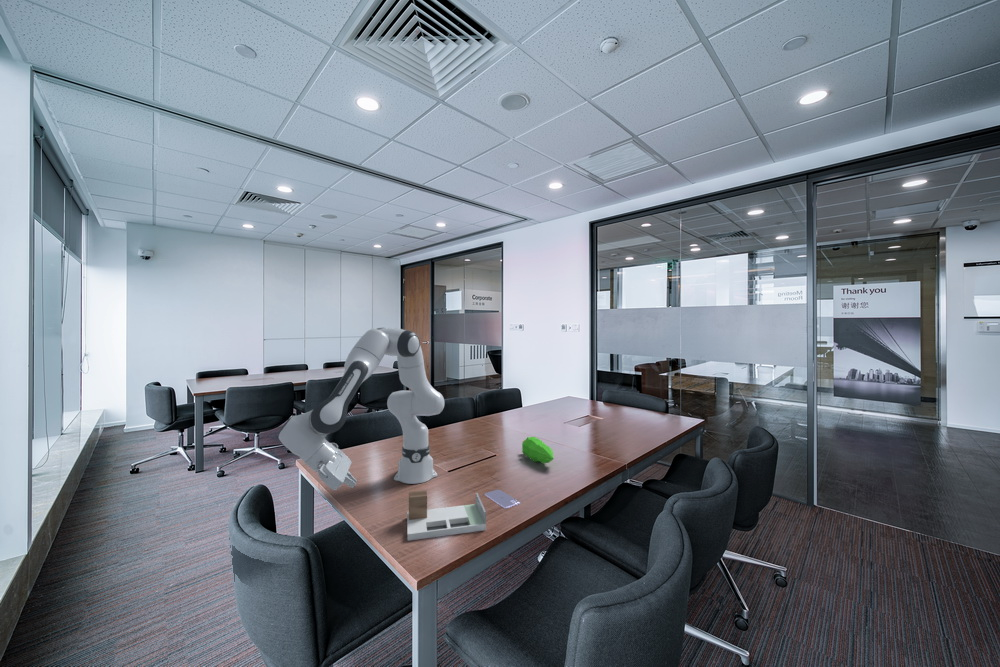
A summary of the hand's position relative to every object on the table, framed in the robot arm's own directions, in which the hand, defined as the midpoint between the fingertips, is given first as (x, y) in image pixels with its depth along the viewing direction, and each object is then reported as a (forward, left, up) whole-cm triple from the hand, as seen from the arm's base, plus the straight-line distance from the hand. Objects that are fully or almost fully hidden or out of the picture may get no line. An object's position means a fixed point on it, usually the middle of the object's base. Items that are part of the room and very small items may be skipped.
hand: (354, 484), depth 122 cm
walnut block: (0, +20, -13) cm, 24 cm away
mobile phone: (-10, +53, -15) cm, 56 cm away
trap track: (+4, +29, -15) cm, 33 cm away
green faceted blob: (-46, +81, -15) cm, 94 cm away
